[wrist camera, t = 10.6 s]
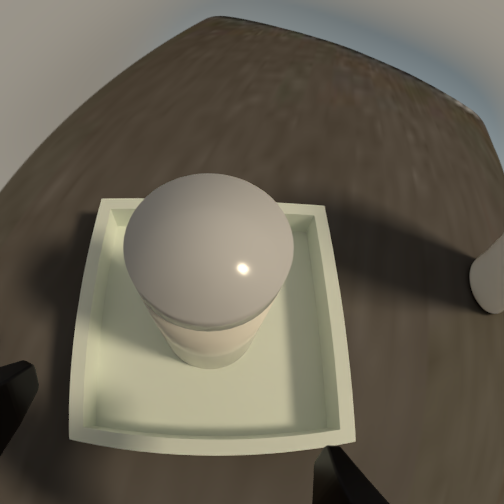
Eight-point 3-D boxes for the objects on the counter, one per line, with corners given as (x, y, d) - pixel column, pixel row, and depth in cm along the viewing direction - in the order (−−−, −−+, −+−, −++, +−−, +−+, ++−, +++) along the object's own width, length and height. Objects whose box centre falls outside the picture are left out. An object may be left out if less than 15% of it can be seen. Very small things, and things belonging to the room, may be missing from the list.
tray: (87, 436, 13) (69, 439, 11) (111, 221, 20) (101, 198, 18) (336, 438, 15) (355, 441, 13) (313, 227, 22) (324, 205, 19)
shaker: (184, 383, 15) (154, 350, 7) (151, 300, 17) (108, 201, 9) (270, 346, 17) (324, 279, 9) (231, 270, 18) (248, 158, 11)
